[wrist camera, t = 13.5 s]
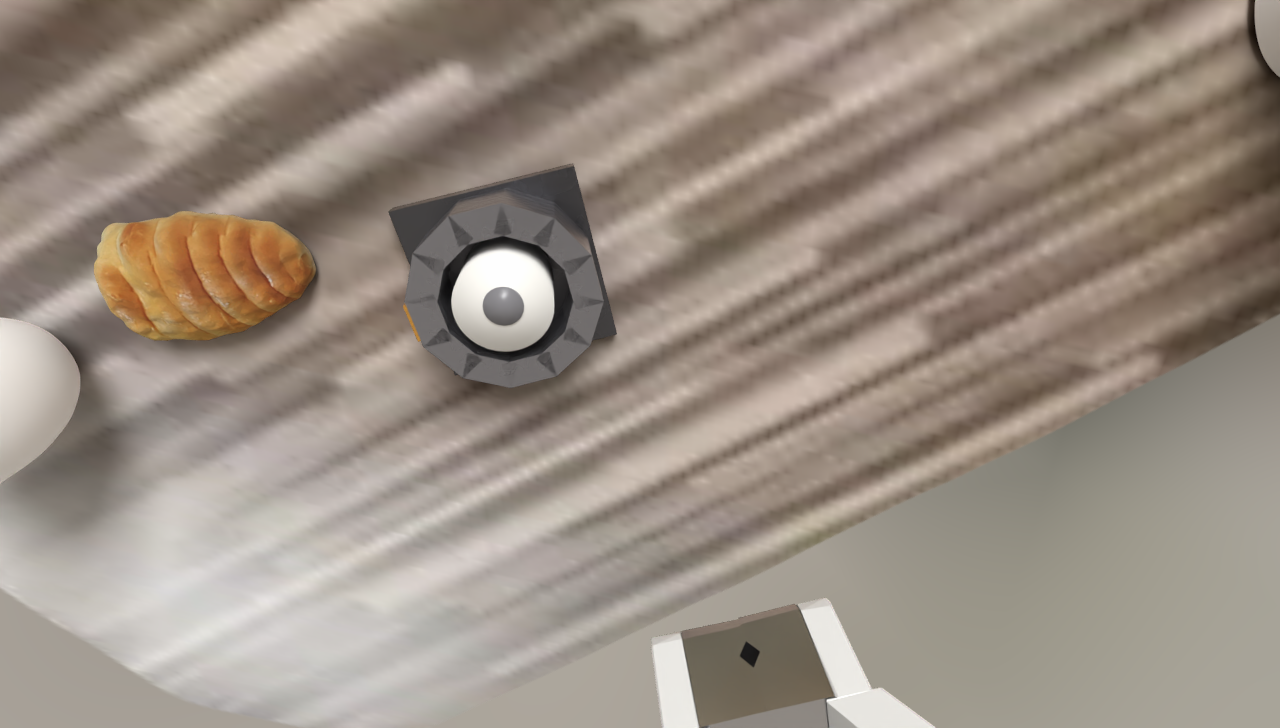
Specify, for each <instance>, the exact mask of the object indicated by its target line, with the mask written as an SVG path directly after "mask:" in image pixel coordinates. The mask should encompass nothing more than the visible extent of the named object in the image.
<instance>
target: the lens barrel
mask: <svg viewBox="0 0 1280 728" xmlns="http://www.w3.org/2000/svg"><path fill="white" fill-rule="evenodd" d="M389 215H390V217H391V220H392V222H393V225H394V227H395V230H396V232H397V234H398V237H399V239H400V242H401V244H402V247H403V249H404V252H405V254H406V256H407V259H408V261H409V264H410V272H409V278H408V284H407V290H406V296H405V301H404V303H405V304H404V305H403V308H404V310H405V312H406V315H407V317H408V319H409V322H410V324H411V326H412V329H413V331H414V333H415V336H416V338H417V340H418V341H421V342H422V344H423V347H424V348H425V349H426V350H428V351H429V352H430V353H432V354H433V355H434V356H435V357H437V358H438V359H439V360H440V361H442V362H443V363H444V364H446V365H447V366H448V367H449V368H451V369H452V370H453V371H454V374H455V375H460V376H461V377H462V378H465V379H470V380H475V381H480V382H485V383H489V384H494V385H499V386H504V387H509V388H513V387H516V386H520V385H524V384H528V383H532V382H536V381H540V380H544V379H548V378H552V377H556V376H557V375H559V374H560V373H561V372H562V371H563V370H564V369H565V368H566V367H567V366H568V365H569V364H571V363H572V362H573V361H574V360H575V359H576V358H577V357H578V356H579V355H580V354H582V353H583V352H584V351H585V350H586V349H587V348H588V347H589V346H590V345H591V342H592V340H596V339H600V338H604V337H608V336H612V335H616V334H617V332H616V328H615V325H614V321H613V317H612V313H611V309H610V305H609V301H608V297H607V293H606V289H605V286H604V282H603V278H602V274H601V270H600V266H599V262H598V258H597V254H596V250H595V246H594V243H593V239H592V235H591V231H590V227H589V223H588V219H587V215H586V211H585V207H584V204H583V200H582V196H581V192H580V188H579V184H578V180H577V176H576V172H575V168H574V165H573V164H569V165H564V166H560V167H556V168H552V169H548V170H544V171H540V172H536V173H532V174H528V175H524V176H520V177H516V178H512V179H508V180H504V181H500V182H496V183H492V184H488V185H484V186H479V187H475V188H471V189H467V190H463V191H459V192H455V193H451V194H447V195H443V196H439V197H435V198H431V199H427V200H423V201H419V202H415V203H411V204H407V205H403V206H399V207H395V208H392V209H391V210H390V211H389ZM500 236H506V237H509V238H513V239H517V240H520V241H524V242H528V243H531V244H535V245H538V246H539V247H540V248H541V249H542V250H543V251H544V253H545V254H546V255H547V257H548V259H549V261H550V263H551V266H552V270H553V278H554V315H553V319H552V322H551V324H550V326H549V328H548V330H547V331H546V332H545V334H544V335H543V336H542V337H541V338H540V339H539V340H538V341H536V342H535V343H533V344H532V345H530V346H528V347H526V348H523V349H520V350H515V351H506V352H505V351H495V350H491V349H487V348H485V347H482V346H480V345H478V344H476V343H475V342H473V341H472V340H471V339H469V338H468V337H467V336H466V335H465V334H464V333H463V332H462V330H461V329H460V328H459V326H458V324H457V323H456V320H455V318H454V315H453V312H452V305H451V299H452V292H453V289H454V286H455V283H456V281H457V279H458V276H459V274H460V272H461V269H462V267H463V264H464V262H465V260H466V258H467V255H468V254H469V252H470V251H471V250H472V248H473V247H474V246H475V245H476V244H478V243H479V242H480V241H484V240H488V239H492V238H496V237H500Z"/></svg>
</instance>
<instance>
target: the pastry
mask: <svg viewBox="0 0 1280 728" xmlns="http://www.w3.org/2000/svg"><path fill="white" fill-rule="evenodd" d="M101 238H102V241H101V243H100V244H99V245H98V247H97V256H98V258H97V260H96V262H95V264H94V275H95V278H96V281H97V283H98V286H99V289H100V291H101V293H102V295H103V297H104V299H105V301H106V303H107V305H108V307H109V309H110V310H111V312H112V313H113V314H115V315H116V316H117V317H119V318H120V319H121V320H123V321H124V323H125V324H126V326H127V327H128V328H130V329H131V330H132V331H134V332H136V333H138V334H140V335H142V336H144V337H146V338H149V339H152V340H155V341H156V340H167V341H168V340H172V339H187V340H211V339H214V338H217V337H220V336H223V335H226V334H232V333H237V332H242V331H245V330H246V329H248V328H249V327H251V326H254V325H256V324H258V323H260V322H261V321H263V320H264V319H265V318H267V317H269V316H271V315H273V314H274V313H276V312H277V311H278V310H280V309H281V308H284V307H285V306H287V305H288V304H289V303H291V302H293V301H295V300H297V299H299V298H300V297H301V296H302V294H303V292H304V291H305V289H306V287H307V286H308V285H309V283H310V282H311V281H312V279H313V277H314V276H315V273H316V267H315V264H314V261H313V258H312V255H311V253H310V252H309V250H308V248H307V247H306V246H305V245H304V244H303V243H302V242H301V241H300V240H299V239H298V238H297V237H295V236H294V235H293V234H292V233H290V232H289V231H287V230H285V229H283V228H282V227H280V226H279V225H277V224H276V223H274V222H269V221H259V220H248V219H244V218H241V217H238V216H235V215H218V214H215V213H209V214H204V213H197V212H192V211H181V212H177V213H176V214H174V215H172V216H170V217H168V218H156V219H152V220H146V221H141V222H134V223H113V224H111V225H109V226H107V227H106V228H105V229H104V231H103V233H102V236H101Z"/></svg>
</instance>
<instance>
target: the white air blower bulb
mask: <svg viewBox="0 0 1280 728" xmlns="http://www.w3.org/2000/svg"><path fill="white" fill-rule="evenodd" d="M79 394H80V373H79V369H78V366H77V364H76V362H75V360H74V358H73V356H72V355H71V353H70V352H69V350H68V349H67V348H66V347H65V346H64V345H63V344H62V343H61V341H60V340H58V339H57V338H56V337H55V336H53V335H52V334H51V333H49V332H48V331H46V330H44V329H42V328H41V327H39V326H36V325H33V324H31V323H28V322H24V321H20V320H15V319H9V318H0V483H2V482H3V481H5V480H6V479H8V478H9V477H11V476H12V475H14V474H15V473H17V472H18V471H20V470H21V469H23V468H24V467H25V466H27V465H28V464H29V463H31V462H32V461H33V460H35V459H36V458H37V457H38V456H39V455H41V454H42V453H43V452H44V451H45V450H46V449H47V448H48V447H49V446H50V445H51V444H52V443H53V442H54V440H55V439H56V438H57V437H58V436H59V434H60V433H61V432H62V431H63V429H64V428H65V427H66V425H67V424H68V422H69V421H70V419H71V417H72V415H73V413H74V410H75V407H76V404H77V401H78V398H79Z"/></svg>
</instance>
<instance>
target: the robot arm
mask: <svg viewBox="0 0 1280 728" xmlns="http://www.w3.org/2000/svg"><path fill="white" fill-rule="evenodd" d="M1255 28H1256V35H1257V40H1258V44H1259V47H1260V50H1261V52H1262V55H1263V57H1264V59H1265V61H1266V62H1267V64H1268V65H1269V67H1270V68H1271V69H1272V70H1273V71H1274V73H1275V74H1276V75H1278V76H1279V77H1280V0H1255ZM651 640H652V641H651V650H652V657H653V665H654V673H655V680H656V687H657V695H658V702H659V710H660V717H661V725H662V728H936V727H934V726H933V725H932V724H930V723H929V722H928V721H926V720H925V719H923V718H922V717H921V716H919V715H918V714H917V713H915V712H914V711H913V710H911V709H910V708H909V707H907V706H906V705H905V704H903V703H902V702H901V701H899V700H898V699H897V698H895V697H894V696H892V695H891V694H890V693H888V692H887V691H886V690H884V689H883V688H882V687H880V688H875V689H872V688H871V686H870V684H869V682H868V680H867V678H866V676H865V673H864V671H863V669H862V667H861V665H860V663H859V661H858V659H857V657H856V654H855V652H854V650H853V648H852V646H851V644H850V642H849V640H848V638H847V636H846V634H845V631H844V629H843V627H842V625H841V623H840V621H839V619H838V617H837V615H836V612H835V610H834V608H833V606H832V604H831V602H830V601H828V599H826V598H825V597H824V598H820V599H816V600H812V601H809V602H804V603H800V604H797V605H795V604H792V605H789V606H785V607H781V608H776V609H772V610H768V611H764V612H761V613H756V614H752V615H748V616H744V617H740V618H739V619H737V620H733V621H728V622H723V623H719V624H714V625H708V626H704V627H699V628H694V629H689V630H685V631H682V633H681V631H679V632H675V633H670V634H666V635H661V636H657V637H653V638H652V639H651Z"/></svg>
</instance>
